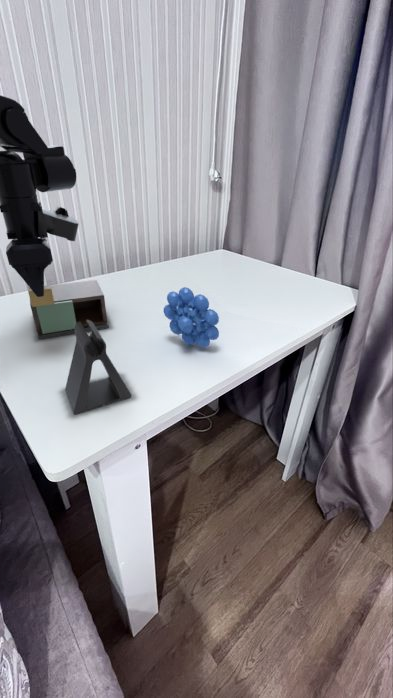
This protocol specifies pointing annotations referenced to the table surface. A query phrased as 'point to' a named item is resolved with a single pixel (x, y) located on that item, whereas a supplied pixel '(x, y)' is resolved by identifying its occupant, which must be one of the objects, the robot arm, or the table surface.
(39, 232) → the robot arm
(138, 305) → the table surface
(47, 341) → the table surface
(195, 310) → the grapes
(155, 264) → the table surface
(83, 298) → the cabinet
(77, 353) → the phone stand
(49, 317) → the door
